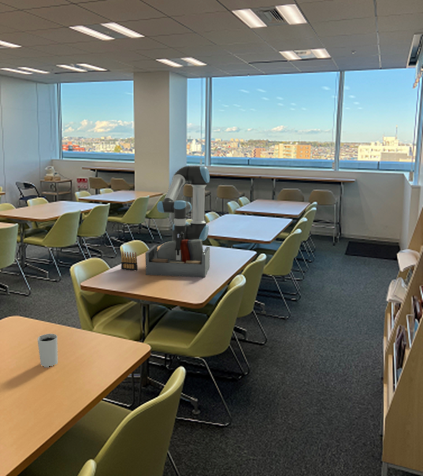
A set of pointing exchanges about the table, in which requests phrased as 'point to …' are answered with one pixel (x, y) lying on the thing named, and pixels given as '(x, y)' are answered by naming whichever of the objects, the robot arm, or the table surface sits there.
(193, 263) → the teak offcut
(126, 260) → the ammunition clip
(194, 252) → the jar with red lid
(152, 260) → the walnut offcut
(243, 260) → the table surface
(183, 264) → the rack
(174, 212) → the robot arm
